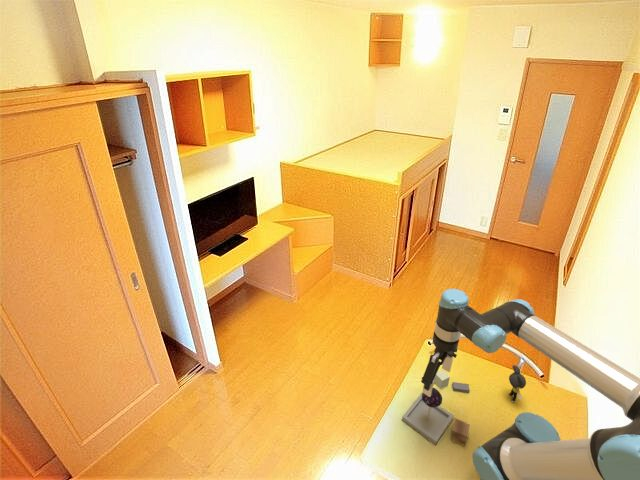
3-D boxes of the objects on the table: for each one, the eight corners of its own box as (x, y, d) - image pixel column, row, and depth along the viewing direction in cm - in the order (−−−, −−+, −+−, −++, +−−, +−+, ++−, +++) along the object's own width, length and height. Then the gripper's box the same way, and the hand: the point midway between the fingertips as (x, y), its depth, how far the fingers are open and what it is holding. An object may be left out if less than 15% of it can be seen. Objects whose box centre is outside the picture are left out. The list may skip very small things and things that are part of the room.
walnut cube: (467, 433, 124) (470, 424, 121) (464, 445, 120) (467, 436, 117) (452, 426, 126) (455, 418, 123) (449, 438, 122) (452, 430, 119)
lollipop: (416, 409, 131) (421, 382, 124) (435, 410, 130) (441, 383, 123) (419, 426, 125) (424, 399, 118) (438, 428, 124) (445, 400, 117)
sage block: (447, 385, 141) (449, 376, 139) (440, 389, 140) (442, 380, 137) (440, 378, 144) (442, 369, 142) (433, 381, 143) (435, 373, 140)
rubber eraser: (467, 387, 140) (468, 384, 139) (468, 393, 138) (469, 390, 137) (451, 385, 141) (452, 381, 140) (452, 391, 139) (453, 388, 138)
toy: (522, 408, 132) (534, 381, 124) (508, 408, 132) (518, 381, 125) (512, 389, 139) (522, 363, 132) (498, 389, 139) (508, 362, 132)
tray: (453, 419, 128) (454, 415, 127) (435, 445, 120) (436, 441, 119) (420, 397, 136) (421, 393, 135) (401, 420, 128) (402, 416, 127)
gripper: (453, 309, 118) (443, 355, 128) (414, 350, 102) (407, 398, 112) (475, 320, 113) (463, 366, 123) (438, 364, 98) (428, 412, 108)
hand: (436, 381), depth 118 cm, fingers open, 13 cm apart
